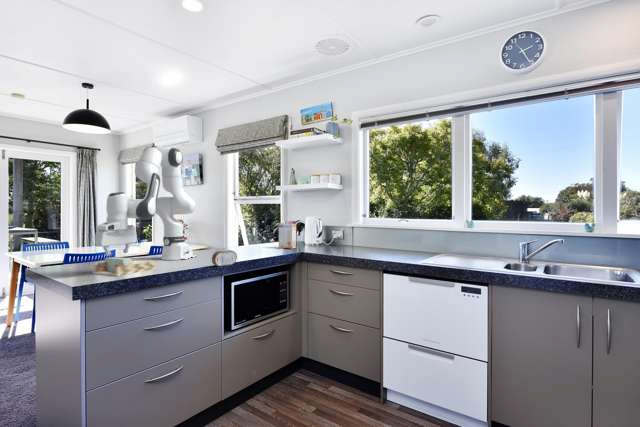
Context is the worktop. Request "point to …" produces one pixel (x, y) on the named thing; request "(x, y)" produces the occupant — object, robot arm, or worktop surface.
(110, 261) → the slider
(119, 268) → the track
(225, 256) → the tin
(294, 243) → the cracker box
